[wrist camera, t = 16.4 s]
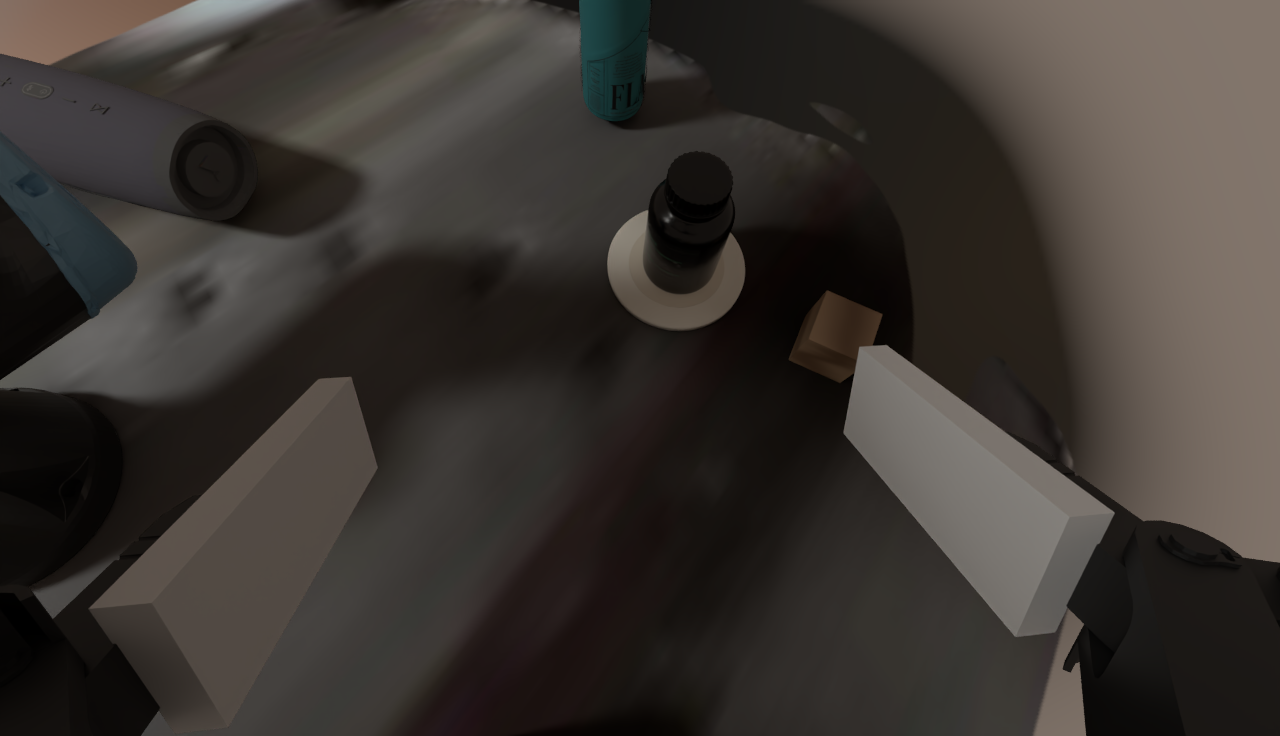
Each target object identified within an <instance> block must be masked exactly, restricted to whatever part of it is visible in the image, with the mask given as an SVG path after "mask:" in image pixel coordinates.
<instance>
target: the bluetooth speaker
mask: <svg viewBox="0 0 1280 736" xmlns="http://www.w3.org/2000/svg"><path fill="white" fill-rule="evenodd" d="M0 131H1V132H2V133H3V134H4V135H5V136H6V137H8V138H9V139H10V140H11V141H12V142H13V143H14V144H16V145H17V146H18V147H19V148H20V149H21V150H22V151H24V152H25V153H26V154H27V155H28V156H29V157H30V158H31V159H33V160H34V161H35V162H36V163H37V164H38V165H39V166H41V167H42V168H43V169H44V170H45V171H46V172H47V173H49V174H50V175H51V176H52V177H53V178H54V179H55V180H56V181H57V182H59V183H60V184H63V185H66V186H69V187H72V188H75V189H78V190H81V191H85V192H88V193H92V194H96V195H100V196H104V197H108V198H113V199H117V200H121V201H125V202H129V203H133V204H137V205H140V206H145V207H150V208H154V209H158V210H162V211H166V212H170V213H174V214H178V215H183V216H188V217H194V218H200V219H207V220H216V221H219V220H226V219H229V218H232V217H234V216H235V215H237V214H238V213H239V212H240V211H241V210H242V209H243V207H244V206H245V205H246V203H247V202H248V200H249V199H250V197H251V196H252V194H253V192H254V190H255V188H256V184H257V180H258V169H257V162H256V158H255V155H254V152H253V150H252V148H251V146H250V144H249V142H248V141H247V140H246V138H245V137H244V136H243V135H242V134H241V133H240V132H238V131H237V130H236V129H234V128H233V127H231V126H230V125H228V124H226V123H224V122H222V121H220V120H217V119H215V118H213V117H211V116H208V115H206V114H203V113H201V112H198V111H196V110H193V109H190V108H187V107H184V106H181V105H178V104H175V103H172V102H169V101H166V100H163V99H160V98H157V97H154V96H151V95H148V94H145V93H142V92H139V91H135V90H132V89H129V88H126V87H123V86H119V85H116V84H113V83H109V82H106V81H103V80H99V79H96V78H92V77H89V76H86V75H82V74H79V73H75V72H71V71H67V70H64V69H60V68H56V67H52V66H48V65H44V64H40V63H36V62H32V61H29V60H24V59H20V58H16V57H11V56H8V55H3V54H0Z"/></svg>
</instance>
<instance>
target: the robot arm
mask: <svg viewBox="0 0 1280 736" xmlns="http://www.w3.org/2000/svg"><path fill="white" fill-rule="evenodd" d="M136 273H137V262H136V259H135V257H134V255H133V253H132V252H131V251H130V249H129V248H128V247H127V246H126V245H125V244H124V243H123V242H122V241H121V240H120V239H119V238H118V237H117V236H116V235H115V234H114V233H113V232H112V231H111V230H110V229H109V228H108V227H107V226H106V225H104V224H103V223H102V222H101V221H100V220H99V219H98V218H97V217H96V216H95V215H94V214H93V213H92V212H91V211H89V210H88V209H87V208H86V207H85V206H84V205H83V204H82V203H81V202H80V201H78V200H77V199H76V198H75V197H74V196H73V195H72V194H71V193H70V192H69V191H67V190H66V189H65V188H64V187H63V186H62V185H61V184H60V183H59V182H57V181H56V180H55V179H54V178H53V177H52V176H51V175H50V174H49V173H47V172H46V171H45V170H44V169H43V168H42V167H41V166H39V165H38V164H37V163H36V162H35V161H34V160H33V159H31V158H30V157H29V156H28V155H27V154H26V153H25V152H24V151H22V150H21V149H20V148H19V147H18V146H17V145H16V144H14V143H13V142H12V141H11V140H10V139H9V138H8V137H6V136H5V135H4V134H3V133H2V132H1V131H0V380H1V379H2V378H4V377H5V376H7V375H8V374H10V373H11V372H13V371H14V370H16V369H17V368H19V367H20V366H22V365H23V364H24V363H26V362H27V361H29V360H30V359H32V358H33V357H35V356H36V355H38V354H39V353H41V352H42V351H43V350H45V349H46V348H48V347H49V346H51V345H52V344H54V343H55V342H57V341H58V340H60V339H61V338H63V337H64V336H65V335H67V334H68V333H70V332H71V331H73V330H74V329H76V328H77V327H79V326H80V325H82V324H83V323H84V322H86V321H87V320H89V319H92V318H94V317H95V316H97V315H98V314H99V312H100V309H101V308H102V307H103V306H104V305H106V304H107V303H108V302H109V301H111V300H112V299H113V298H114V297H116V296H117V295H118V294H119V293H121V292H122V291H123V290H124V289H125V288H127V287H128V286H129V285H130V284H131V283H132V282H133V280H134V279H135V275H136ZM844 434H845V436H846V437H847V438H848V439H849V440H850V442H851V443H852V444H853V445H854V446H855V447H856V449H857V450H858V451H859V452H860V453H861V455H862V456H863V457H864V458H865V459H866V460H867V462H868V463H869V464H870V465H871V466H872V468H873V469H874V470H875V471H876V472H877V474H878V475H879V476H880V477H881V478H882V479H883V481H884V482H885V483H886V484H887V485H888V487H889V488H890V489H891V490H892V491H893V492H894V494H895V495H896V496H897V497H898V498H899V500H900V501H901V502H902V503H903V504H904V506H905V507H906V508H907V509H908V510H909V511H910V513H911V514H912V515H913V516H914V517H915V519H916V520H917V521H918V522H919V523H920V524H921V526H922V527H923V528H924V529H925V530H926V532H927V533H928V534H929V535H930V536H931V538H932V539H933V540H934V541H935V542H936V543H937V545H938V546H939V547H940V548H941V549H942V551H943V552H944V553H945V554H946V555H947V556H948V558H949V559H950V560H951V561H952V562H953V564H954V565H955V566H956V567H957V568H958V570H959V571H960V572H961V573H962V574H963V575H964V577H965V578H966V579H967V580H968V581H969V583H970V584H971V585H972V586H973V587H974V588H975V590H976V591H977V592H978V593H979V594H980V596H981V597H982V598H983V599H984V600H985V602H986V603H987V604H988V605H989V606H990V607H991V609H992V610H993V611H994V612H995V613H996V615H997V616H998V617H999V618H1000V619H1001V620H1002V622H1003V623H1004V624H1005V625H1006V626H1007V628H1008V629H1009V630H1010V631H1011V632H1012V634H1013V635H1014V636H1015V637H1020V636H1029V635H1037V634H1046V633H1055V632H1056V630H1057V628H1058V626H1059V624H1060V622H1061V620H1062V618H1063V616H1064V614H1065V612H1066V610H1067V608H1069V609H1070V610H1071V611H1072V612H1073V613H1074V614H1075V615H1076V616H1077V617H1078V618H1079V619H1080V620H1081V621H1082V622H1083V623H1084V626H1083V628H1082V629H1081V632H1080V633H1079V635H1078V637H1077V639H1076V641H1075V643H1074V644H1073V646H1072V648H1071V650H1070V652H1069V654H1068V656H1067V658H1066V660H1065V662H1064V666H1063V670H1065V671H1068V672H1071V671H1072V669H1073V667H1074V665H1075V663H1078V662H1080V671H1081V683H1082V694H1083V704H1084V715H1085V727H1086V736H1280V563H1277V562H1269V561H1263V560H1256V559H1249V558H1242V557H1241V555H1239V554H1238V553H1236V552H1235V551H1234V550H1232V549H1231V548H1230V547H1228V546H1227V545H1225V544H1224V543H1222V542H1220V541H1218V540H1216V539H1215V538H1213V537H1211V536H1209V535H1207V534H1205V533H1203V532H1200V531H1197V530H1194V529H1192V528H1189V527H1186V526H1184V525H1180V524H1175V523H1171V522H1166V521H1144V522H1143V521H1142V520H1141V519H1139V518H1138V517H1136V516H1135V515H1133V514H1132V513H1131V512H1129V511H1128V510H1127V509H1125V508H1124V507H1122V506H1121V505H1120V504H1118V503H1117V502H1115V501H1114V500H1112V499H1111V498H1110V497H1108V496H1107V495H1105V494H1104V493H1103V492H1101V491H1100V490H1099V489H1097V488H1096V487H1094V486H1093V485H1091V484H1090V483H1089V482H1087V481H1086V480H1084V479H1083V478H1082V477H1080V476H1075V474H1074V472H1073V471H1072V470H1070V469H1069V468H1068V467H1066V466H1065V465H1063V464H1062V463H1057V460H1056V459H1055V458H1054V457H1052V456H1051V455H1049V454H1048V453H1047V452H1045V451H1044V450H1042V449H1041V448H1040V447H1038V446H1037V445H1035V444H1033V443H1031V442H1029V441H1027V440H1025V439H1022V438H1020V437H1018V436H1016V435H1014V434H1012V433H1009V432H1004V431H1003V430H1001V429H1000V428H999V427H997V426H996V425H995V424H993V423H992V422H990V421H989V420H988V419H986V418H985V417H984V416H982V415H981V414H980V413H978V412H977V411H975V410H974V409H973V408H971V407H970V406H969V405H967V404H966V403H965V402H963V401H962V400H960V399H959V398H958V397H956V396H955V395H954V394H952V393H950V391H948V390H947V389H945V388H944V387H943V386H941V385H940V384H939V383H937V382H936V381H934V380H933V379H932V378H930V377H929V376H928V375H926V374H925V373H924V372H922V371H921V370H920V369H918V368H917V367H915V366H914V365H913V364H911V363H910V362H909V361H907V360H906V359H905V358H903V357H902V356H901V355H899V354H898V353H896V352H895V351H894V350H892V349H891V348H890V347H888V346H887V345H882V346H865V347H859V352H858V358H857V363H856V368H855V374H854V379H853V384H852V390H851V395H850V400H849V406H848V411H847V417H846V422H845V427H844ZM377 468H378V467H377V463H376V460H375V456H374V453H373V449H372V446H371V443H370V439H369V436H368V432H367V429H366V425H365V422H364V419H363V415H362V412H361V408H360V405H359V401H358V398H357V395H356V391H355V388H354V384H353V381H352V377H340V378H323V379H318V380H317V381H316V382H315V383H314V384H313V385H312V386H311V387H310V388H309V389H308V390H307V391H306V392H305V393H304V394H303V395H302V396H301V397H300V398H299V399H298V400H297V401H296V402H295V403H294V404H293V405H292V406H291V407H290V408H289V409H288V410H287V411H286V412H285V413H284V414H283V415H282V416H281V417H280V418H279V419H278V420H277V421H276V422H275V423H274V424H273V425H272V426H271V427H270V428H269V429H268V430H267V431H266V432H265V433H264V434H263V435H262V436H261V437H260V438H259V439H258V440H257V441H256V442H255V443H254V444H253V445H252V446H251V447H250V448H249V449H248V450H247V451H246V452H245V453H244V454H243V455H242V456H241V457H240V458H239V459H238V460H237V461H236V462H235V463H234V464H233V465H232V466H231V467H230V468H229V469H228V470H227V471H226V472H225V473H224V474H223V475H222V476H221V477H220V478H219V479H218V480H217V481H216V482H215V483H214V484H213V485H212V486H211V487H210V488H209V489H208V490H207V491H206V492H205V493H204V494H203V495H199V496H192V497H191V498H189V499H187V500H186V501H184V502H183V503H181V504H179V505H178V506H176V507H175V508H173V509H171V510H170V511H168V512H167V513H165V514H163V515H162V516H161V517H160V518H159V519H158V520H157V521H156V522H155V523H153V524H152V525H151V526H150V527H149V528H148V529H147V530H146V531H145V532H144V533H143V534H142V535H141V536H140V537H139V541H137V542H134V543H132V544H131V545H130V546H129V547H128V548H127V549H126V550H125V551H124V552H123V553H122V554H121V555H120V559H119V560H115V561H114V562H112V563H111V564H110V565H109V566H108V567H107V568H106V569H105V570H104V571H103V572H102V573H101V574H100V575H99V576H98V577H97V578H96V579H95V580H94V581H92V582H91V583H90V584H89V585H88V586H87V587H86V588H85V589H84V590H83V591H82V592H81V593H80V594H79V595H78V596H77V597H76V598H75V599H74V600H73V601H71V602H70V603H69V604H68V605H67V606H66V607H65V608H64V609H63V610H62V611H61V612H60V613H59V614H58V615H57V616H56V617H55V618H54V619H52V617H51V616H50V615H49V613H48V612H47V611H46V609H45V608H44V607H43V605H42V604H41V603H40V601H39V600H38V599H37V597H36V596H35V595H34V593H33V592H32V591H31V589H30V588H29V587H27V586H29V585H31V584H33V583H35V582H37V581H39V580H40V579H42V578H44V577H46V576H47V575H49V574H50V573H52V572H53V571H55V570H56V569H58V568H59V567H60V566H62V565H63V564H64V563H65V562H67V561H68V560H69V559H70V558H71V557H73V556H74V555H75V554H76V553H77V552H78V551H79V550H80V549H81V548H82V547H83V546H84V545H85V544H86V543H87V542H88V540H89V539H90V538H91V537H92V536H93V534H94V533H95V532H96V530H97V529H98V528H99V526H100V525H101V523H102V522H103V520H104V519H105V517H106V515H107V513H108V512H109V510H110V508H111V506H112V504H113V501H114V499H115V496H116V493H117V490H118V487H119V483H120V478H121V472H122V452H121V446H120V442H119V439H118V436H117V434H116V432H115V430H114V428H113V426H112V425H111V423H110V422H109V421H108V419H107V418H106V417H105V416H104V415H103V414H102V413H101V412H99V411H98V410H97V409H95V408H94V407H93V406H91V405H89V404H87V403H85V402H83V401H80V400H77V399H74V398H71V397H67V396H64V395H60V394H56V393H53V392H49V391H45V390H39V389H32V388H0V736H141V735H142V733H143V732H144V730H145V729H146V727H147V726H148V725H149V723H150V722H151V720H152V719H153V718H154V716H155V715H156V713H157V712H158V711H160V713H161V714H162V716H163V717H164V719H165V720H166V721H167V723H168V724H169V726H170V727H171V729H172V730H173V732H174V733H175V734H177V733H186V732H195V731H204V730H212V729H221V728H228V727H229V725H230V724H231V722H232V720H233V719H234V717H235V715H236V713H237V712H238V710H239V708H240V706H241V705H242V703H243V701H244V699H245V698H246V696H247V694H248V692H249V691H250V689H251V687H252V686H253V684H254V682H255V680H256V679H257V677H258V675H259V673H260V672H261V670H262V668H263V666H264V665H265V663H266V661H267V659H268V658H269V656H270V654H271V653H272V651H273V649H274V647H275V646H276V644H277V642H278V640H279V639H280V637H281V635H282V633H283V632H284V630H285V628H286V626H287V625H288V623H289V621H290V620H291V618H292V616H293V614H294V613H295V611H296V609H297V607H298V606H299V604H300V602H301V600H302V599H303V597H304V595H305V593H306V592H307V590H308V588H309V587H310V585H311V583H312V581H313V580H314V578H315V576H316V574H317V573H318V571H319V569H320V567H321V566H322V564H323V562H324V560H325V559H326V557H327V555H328V554H329V552H330V550H331V548H332V547H333V545H334V543H335V541H336V540H337V538H338V536H339V534H340V533H341V531H342V529H343V527H344V526H345V524H346V522H347V521H348V519H349V517H350V515H351V514H352V512H353V510H354V508H355V507H356V505H357V503H358V501H359V500H360V498H361V496H362V494H363V493H364V491H365V489H366V488H367V486H368V484H369V482H370V481H371V479H372V477H373V475H374V474H375V472H376V470H377Z"/></svg>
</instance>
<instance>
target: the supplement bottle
mask: <svg viewBox="0 0 1280 736" xmlns="http://www.w3.org/2000/svg"><path fill="white" fill-rule="evenodd" d="M732 179H733V176H732V175H731V171H730V170H729V167H728V166H727V165H726V164H725V162H724V161H722V160H721V159H720V158H718V157H716V156H715V155H712V154H710V153H705V152H698V151H695V152H689V153H684V154H683V155H681V156H679V157H678V158H677V159H675V160H674V162H673V163H672V164H671V166H670V168H669V169H668V174H667V178H666V179H665V180H664V181H663V182H661V183H660V184H659V185H658V186H657V188H656V189H655V191H654V192H653V194H652V196H651V199H650V204H649V209H648V217H647V225H646V233H645V241H644V249H643V267H644V270H645V273H646V275H647V277H648V278H649V279H650V281H651V282H652V283H653V284H654V285H655V286H657V287H658V288H660V289H661V290H663V291H665V292H668V293H672V294H679V295H681V294H690V293H693V292H696V291H698V290H700V289H701V288H703V287H704V286H705V285H706V284H707V283H708V282H709V281H710V280H711V278H712V276H713V274H714V272H715V270H716V267H717V265H718V262H719V260H720V257H721V254H722V252H723V249H724V247H725V244H726V242H727V239H728V237H729V234H730V232H731V229H732V226H733V223H734V219H735V207H734V202H733V200H732V197H731V195H730V193H731V191H732V185H733V180H732Z"/></svg>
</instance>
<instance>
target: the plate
mask: <svg viewBox="0 0 1280 736" xmlns="http://www.w3.org/2000/svg"><path fill="white" fill-rule="evenodd" d="M647 217H648V210H647V211H644V212H642V213H640V214H638V215H636V216H634V217H633V218H632V219H630V220H629V221H628V222H626V223H625V224H624V225H623V226H622V227H621V229H620V230H619V231H618V232H617V234H616V235H615V237H614V239H613V241H612V243H611V246H610V249H609V253H608V262H607V267H608V278H609V282H610V285H611V288H612V291H613V292H614V294H615V296H616V298H617V299H618V301H619V302H620V304H621V305H622V306H623V307H624V308H625V309H626V310H627V311H628V312H629V313H630V314H631V315H633V316H634V317H635V318H637V319H638V320H640V321H642V322H644V323H646V324H648V325H650V326H653V327H656V328H659V329H663V330H668V331H690V330H696V329H699V328H703V327H705V326H708V325H710V324H712V323H714V322H715V321H717V320H719V319H720V318H721V317H723V316H724V315H725V314H726V313H727V312H728V311H729V310H730V309H731V308H732V306H733V305H734V303H735V302H736V300H737V298H738V296H739V294H740V292H741V290H742V287H743V284H744V278H745V263H744V257H743V254H742V251H741V249H740V246H739V244H738V243H737V241H736V239H735V238H734V236H733V235H732V234H731V233H730V234H729V237H728V239H727V242H726V244H725V247H724V249H723V252H722V254H721V257H720V260H719V262H718V265H717V267H716V270H715V272H714V274H713V276H712V278H711V280H710V281H709V282H708V283H707V284H706V285H705V286H704V287H703V288H701V289H700V290H698V291H696V292H693V293H690V294H681V295H679V294H672V293H668V292H665V291H663V290H661V289H660V288H658V287H657V286H655V285H654V284H653V283H652V282H651V281H650V279H649V278H648V277H647V275H646V273H645V270H644V267H643V249H644V241H645V233H646V225H647Z"/></svg>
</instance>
